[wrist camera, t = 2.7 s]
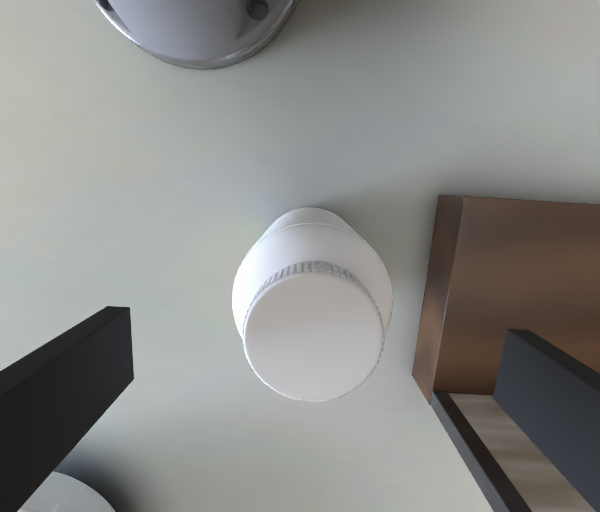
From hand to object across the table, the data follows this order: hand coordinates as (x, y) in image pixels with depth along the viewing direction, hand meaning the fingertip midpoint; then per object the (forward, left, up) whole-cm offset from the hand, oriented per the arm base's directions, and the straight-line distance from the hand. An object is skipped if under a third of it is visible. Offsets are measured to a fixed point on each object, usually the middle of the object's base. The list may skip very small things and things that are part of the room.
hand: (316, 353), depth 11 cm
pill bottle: (0, 0, -16) cm, 16 cm away
